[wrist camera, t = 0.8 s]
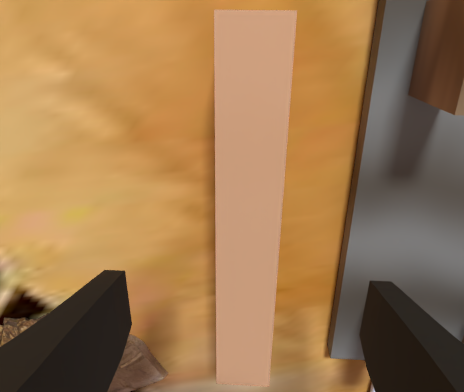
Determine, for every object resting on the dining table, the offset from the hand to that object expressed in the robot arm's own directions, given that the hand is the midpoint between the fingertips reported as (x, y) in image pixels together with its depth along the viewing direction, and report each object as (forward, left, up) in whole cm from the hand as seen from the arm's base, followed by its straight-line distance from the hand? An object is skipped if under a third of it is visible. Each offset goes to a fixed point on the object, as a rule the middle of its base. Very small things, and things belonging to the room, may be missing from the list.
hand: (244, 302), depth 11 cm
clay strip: (0, 0, -9) cm, 9 cm away
